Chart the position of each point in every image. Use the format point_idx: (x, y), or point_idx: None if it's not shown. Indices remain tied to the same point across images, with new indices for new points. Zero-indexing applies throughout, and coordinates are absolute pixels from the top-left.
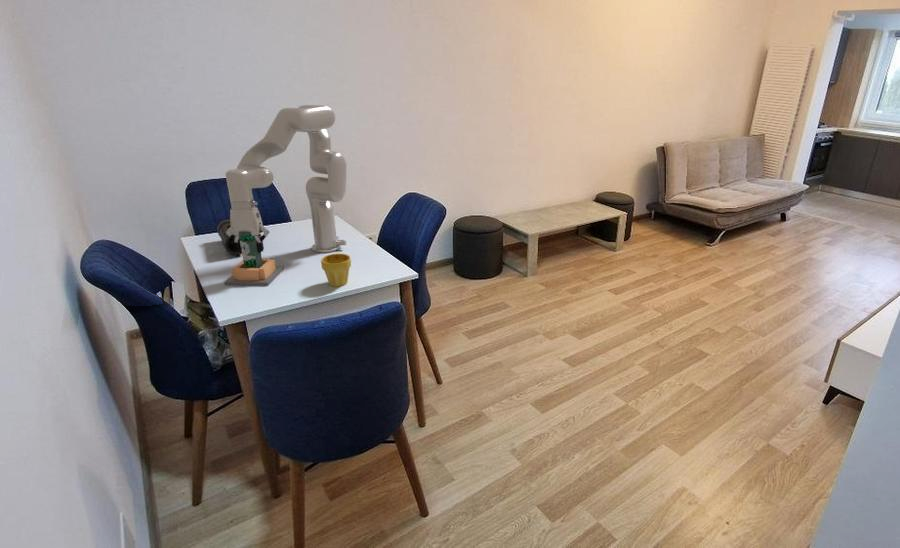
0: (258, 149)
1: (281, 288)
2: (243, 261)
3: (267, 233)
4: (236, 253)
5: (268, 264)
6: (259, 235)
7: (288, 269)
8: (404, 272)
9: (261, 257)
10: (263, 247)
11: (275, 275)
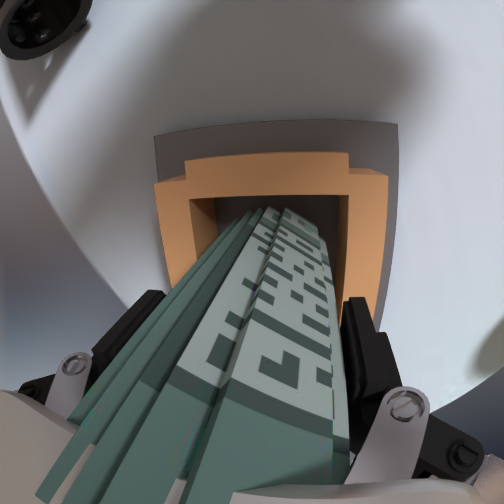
0: None
1: (424, 345)
2: (175, 225)
3: (493, 495)
4: (69, 31)
5: (377, 275)
6: (384, 478)
7: (415, 131)
8: None
9: (329, 269)
10: (387, 344)
11: (391, 252)
